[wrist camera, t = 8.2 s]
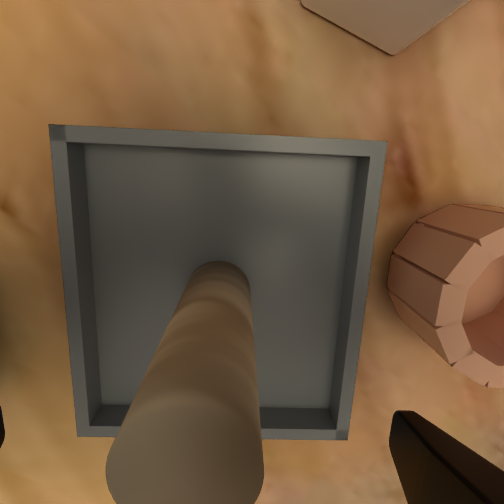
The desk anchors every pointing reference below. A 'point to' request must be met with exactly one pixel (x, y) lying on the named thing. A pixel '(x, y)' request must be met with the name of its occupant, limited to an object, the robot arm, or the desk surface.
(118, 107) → the desk surface
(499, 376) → the cup
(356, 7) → the jar
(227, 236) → the tray
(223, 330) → the dowel
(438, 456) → the robot arm
